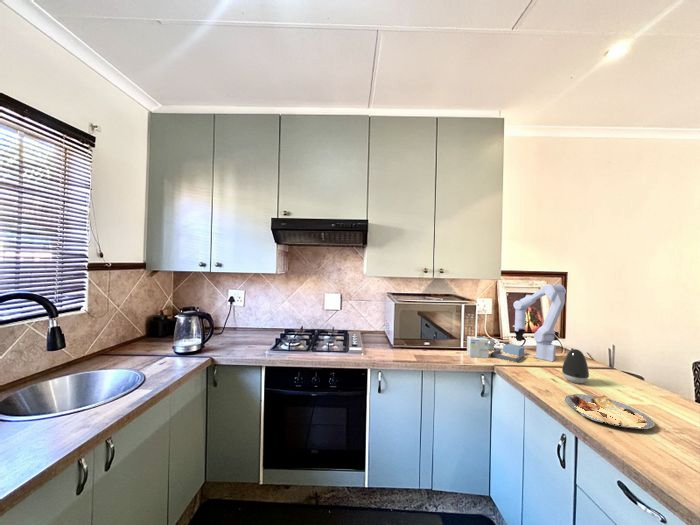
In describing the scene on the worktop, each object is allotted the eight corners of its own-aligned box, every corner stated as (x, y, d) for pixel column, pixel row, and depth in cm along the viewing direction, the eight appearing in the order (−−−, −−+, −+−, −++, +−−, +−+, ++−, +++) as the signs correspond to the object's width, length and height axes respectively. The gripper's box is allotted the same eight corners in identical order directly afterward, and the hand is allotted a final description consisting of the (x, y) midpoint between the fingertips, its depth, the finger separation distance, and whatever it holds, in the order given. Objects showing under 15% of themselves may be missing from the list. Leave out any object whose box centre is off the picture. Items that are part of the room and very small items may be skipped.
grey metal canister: (495, 349, 196) (495, 340, 196) (492, 351, 192) (493, 341, 192) (487, 347, 199) (487, 338, 199) (484, 349, 195) (484, 339, 195)
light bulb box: (484, 354, 183) (485, 336, 183) (488, 358, 177) (489, 339, 177) (466, 353, 184) (466, 335, 184) (469, 357, 177) (470, 338, 177)
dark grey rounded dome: (583, 379, 148) (584, 347, 148) (592, 387, 138) (593, 353, 138) (558, 375, 152) (559, 345, 152) (565, 383, 142) (567, 350, 142)
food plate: (553, 396, 127) (553, 388, 127) (614, 401, 125) (614, 393, 124) (594, 431, 102) (595, 421, 102) (672, 438, 100) (672, 428, 100)
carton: (524, 354, 187) (524, 347, 187) (518, 356, 182) (518, 349, 182) (508, 350, 194) (509, 343, 194) (503, 352, 189) (503, 345, 189)
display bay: (524, 357, 180) (524, 354, 180) (517, 362, 170) (517, 359, 170) (498, 352, 189) (498, 348, 189) (490, 356, 180) (490, 353, 180)
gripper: (516, 317, 205) (515, 337, 205) (509, 319, 194) (508, 341, 194) (528, 319, 200) (527, 339, 200) (522, 321, 189) (521, 343, 189)
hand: (519, 340), depth 197 cm, fingers closed
